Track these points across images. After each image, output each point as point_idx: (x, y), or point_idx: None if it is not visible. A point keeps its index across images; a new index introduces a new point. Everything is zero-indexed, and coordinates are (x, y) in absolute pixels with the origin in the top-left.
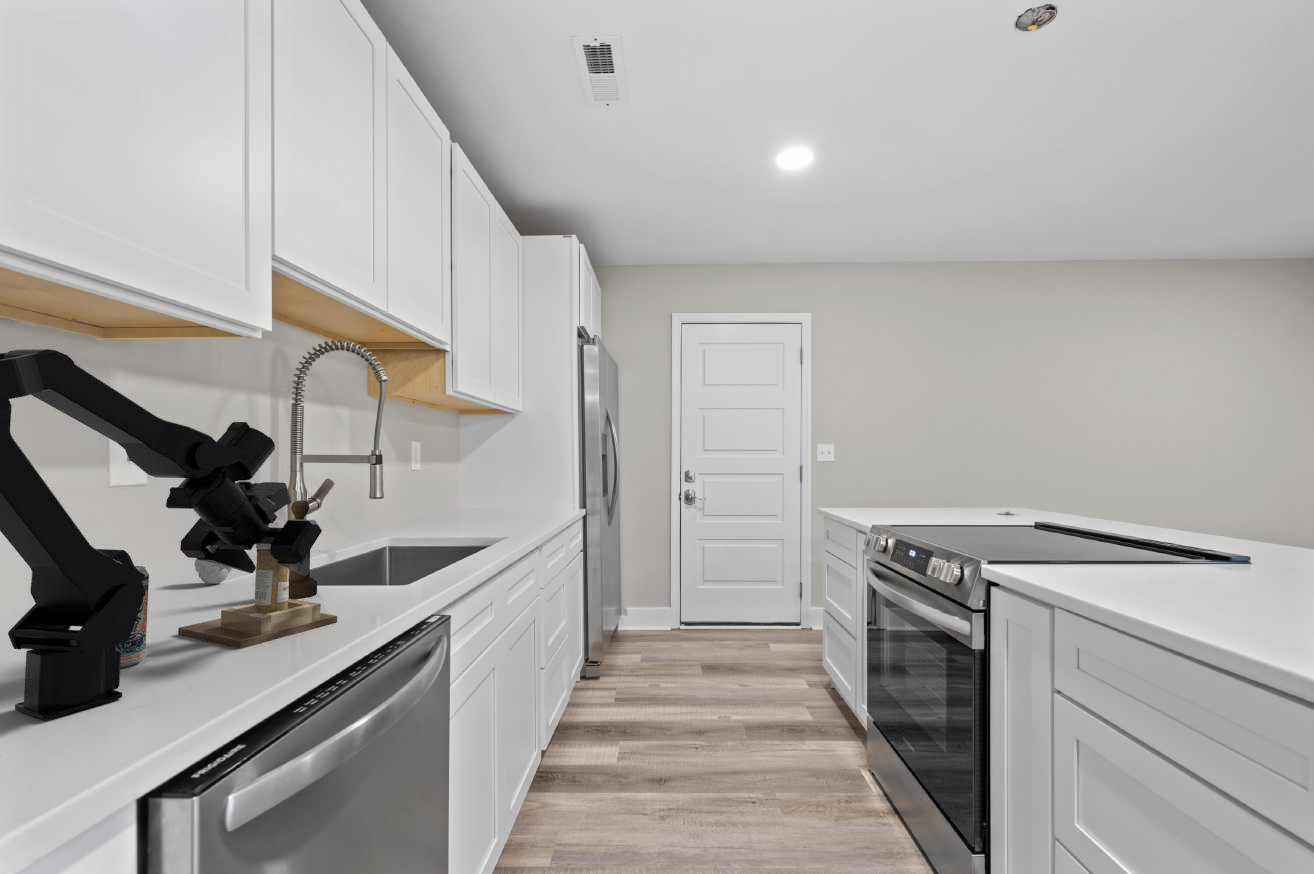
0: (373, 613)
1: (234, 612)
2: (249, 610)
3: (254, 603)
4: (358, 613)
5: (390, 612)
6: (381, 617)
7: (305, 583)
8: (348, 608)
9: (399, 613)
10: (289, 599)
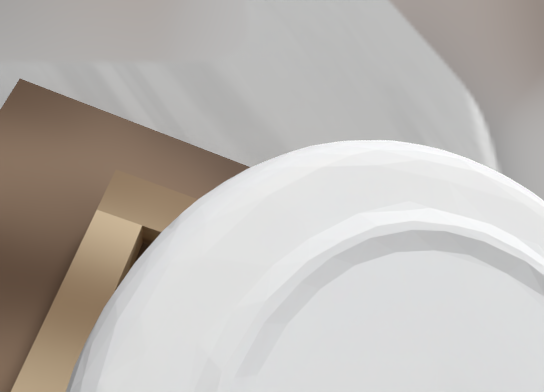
0: (390, 104)
1: None
2: None
3: (55, 311)
4: (346, 106)
5: (428, 92)
6: (442, 149)
7: None
8: (272, 45)
9: (459, 102)
10: (185, 204)
